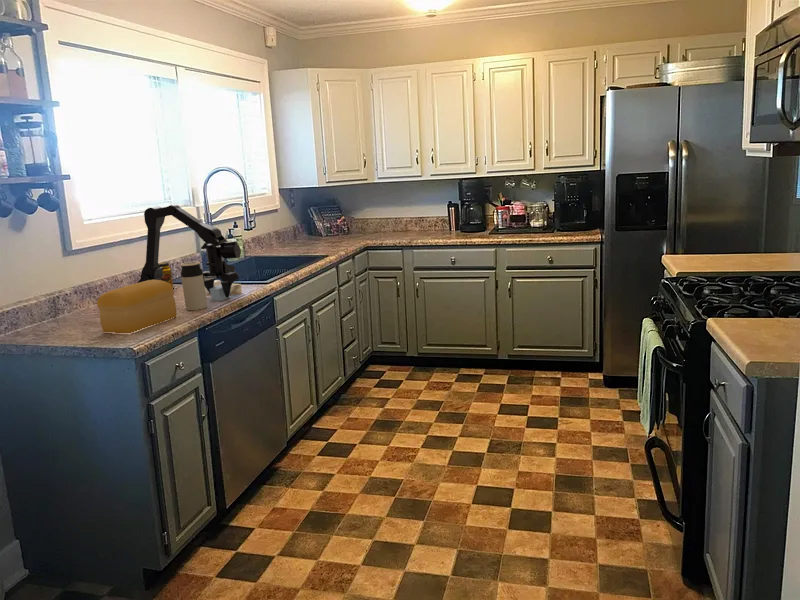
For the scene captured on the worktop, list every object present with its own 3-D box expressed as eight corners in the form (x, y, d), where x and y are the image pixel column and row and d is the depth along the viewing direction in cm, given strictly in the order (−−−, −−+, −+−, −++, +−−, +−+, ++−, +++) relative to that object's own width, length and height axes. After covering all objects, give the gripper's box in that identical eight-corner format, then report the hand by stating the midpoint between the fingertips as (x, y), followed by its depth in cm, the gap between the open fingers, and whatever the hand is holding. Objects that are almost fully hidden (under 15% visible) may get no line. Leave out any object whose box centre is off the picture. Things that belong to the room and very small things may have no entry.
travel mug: (201, 310, 255) (194, 264, 251) (182, 311, 256) (175, 265, 253) (211, 306, 262) (204, 260, 258) (192, 306, 264) (185, 261, 260)
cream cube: (215, 294, 286) (214, 282, 285) (205, 294, 288) (204, 282, 287) (222, 291, 291) (220, 280, 290) (212, 291, 293) (210, 280, 292)
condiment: (165, 291, 302) (161, 265, 299) (153, 290, 306) (148, 264, 303) (178, 287, 308) (174, 262, 305) (165, 287, 312) (161, 261, 309)
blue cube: (220, 301, 270) (218, 289, 269) (212, 300, 273) (209, 288, 271) (229, 297, 274) (227, 285, 273) (221, 296, 277) (218, 285, 275)
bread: (151, 316, 253) (145, 277, 249) (178, 317, 248) (172, 277, 245) (101, 334, 231) (93, 291, 228) (130, 335, 226) (122, 292, 223)
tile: (229, 298, 273) (229, 297, 273) (222, 298, 275) (222, 297, 275) (240, 295, 278) (240, 294, 278) (233, 295, 280) (233, 294, 280)
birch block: (231, 296, 278) (230, 287, 277) (221, 295, 281) (220, 286, 281) (242, 293, 283) (240, 284, 282) (232, 292, 286) (230, 283, 285)
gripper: (246, 256, 271) (250, 293, 275) (214, 255, 281) (219, 291, 285) (225, 261, 262) (230, 299, 266) (193, 260, 272) (198, 297, 276)
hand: (220, 296), depth 273 cm, fingers open, 8 cm apart
